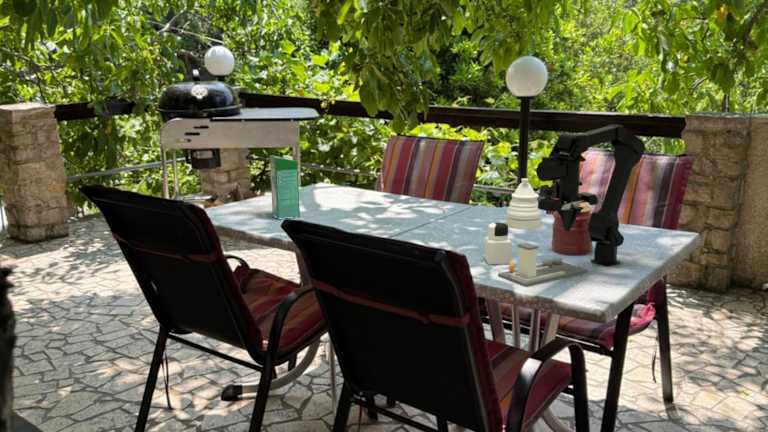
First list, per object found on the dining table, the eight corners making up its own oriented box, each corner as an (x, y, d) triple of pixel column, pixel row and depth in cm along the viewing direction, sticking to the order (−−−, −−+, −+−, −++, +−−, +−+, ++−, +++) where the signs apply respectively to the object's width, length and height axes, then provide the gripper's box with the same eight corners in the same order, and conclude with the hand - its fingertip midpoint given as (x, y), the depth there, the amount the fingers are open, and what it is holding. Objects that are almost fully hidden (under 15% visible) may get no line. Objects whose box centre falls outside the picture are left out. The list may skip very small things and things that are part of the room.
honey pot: (541, 230, 267) (543, 181, 263) (505, 229, 269) (506, 180, 265) (541, 222, 279) (542, 175, 275) (507, 221, 281) (508, 174, 278)
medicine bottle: (506, 257, 232) (507, 220, 229) (511, 264, 225) (512, 226, 222) (484, 258, 232) (484, 221, 229) (488, 264, 225) (488, 226, 222)
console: (558, 262, 226) (558, 250, 225) (587, 272, 216) (588, 259, 215) (498, 276, 213) (498, 263, 212) (526, 286, 203) (526, 273, 202)
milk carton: (300, 218, 292) (297, 155, 287) (277, 220, 289) (274, 157, 284) (294, 213, 301) (291, 153, 295) (272, 215, 297) (269, 154, 292)
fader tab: (525, 274, 211) (526, 242, 209) (537, 278, 207) (538, 246, 205) (516, 276, 210) (517, 244, 207) (528, 280, 206) (529, 247, 203)
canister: (562, 243, 248) (564, 192, 244) (598, 249, 240) (601, 196, 236) (544, 251, 238) (546, 198, 235) (581, 258, 230) (584, 203, 227)
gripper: (571, 171, 222) (569, 221, 225) (525, 177, 212) (524, 229, 216) (600, 176, 212) (597, 228, 216) (553, 182, 203) (551, 237, 206)
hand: (567, 230), depth 214 cm, fingers closed
